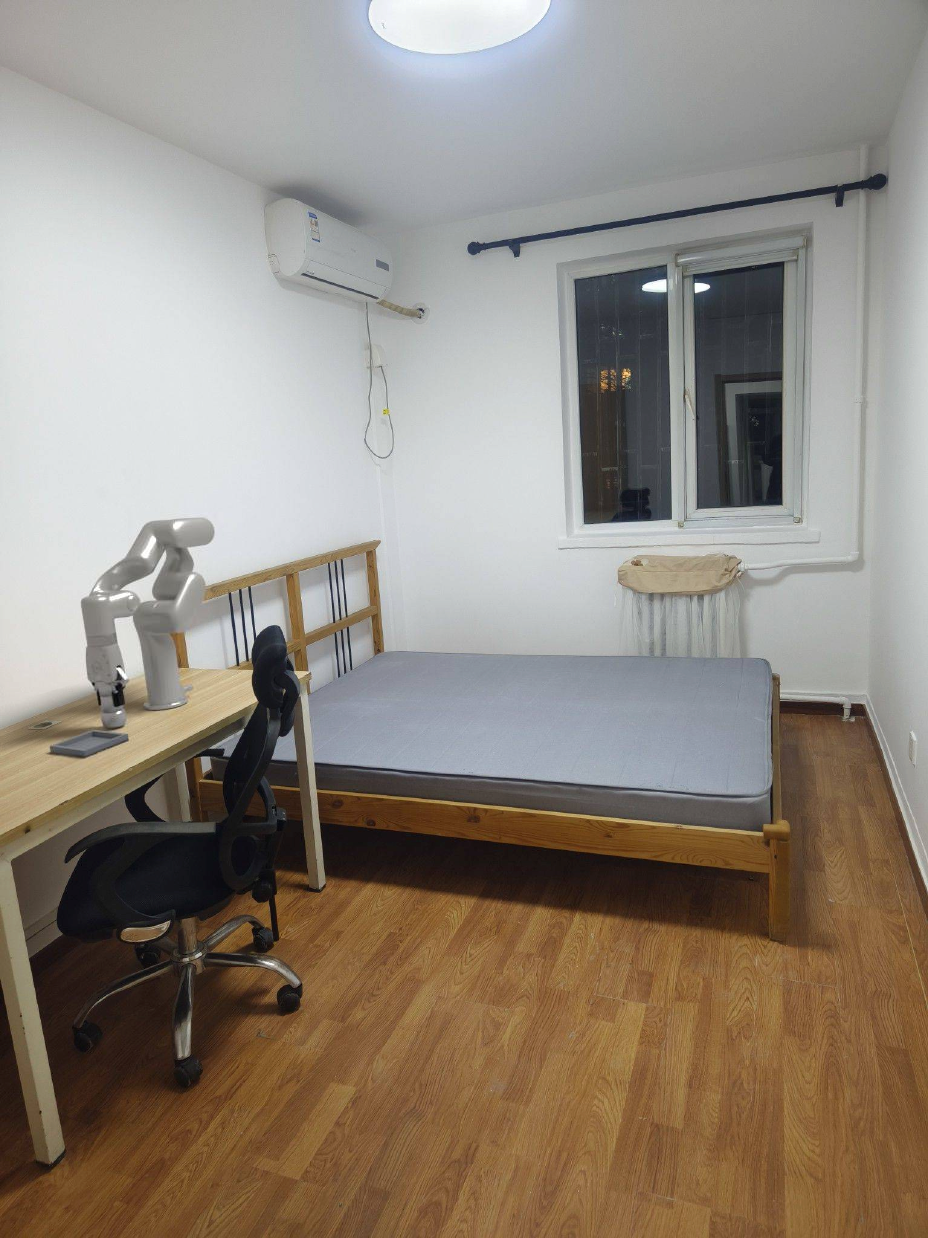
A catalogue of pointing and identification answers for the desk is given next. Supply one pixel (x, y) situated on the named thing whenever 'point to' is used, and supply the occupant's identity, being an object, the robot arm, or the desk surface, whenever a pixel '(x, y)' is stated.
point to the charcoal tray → (89, 743)
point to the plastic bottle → (109, 706)
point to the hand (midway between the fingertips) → (111, 704)
